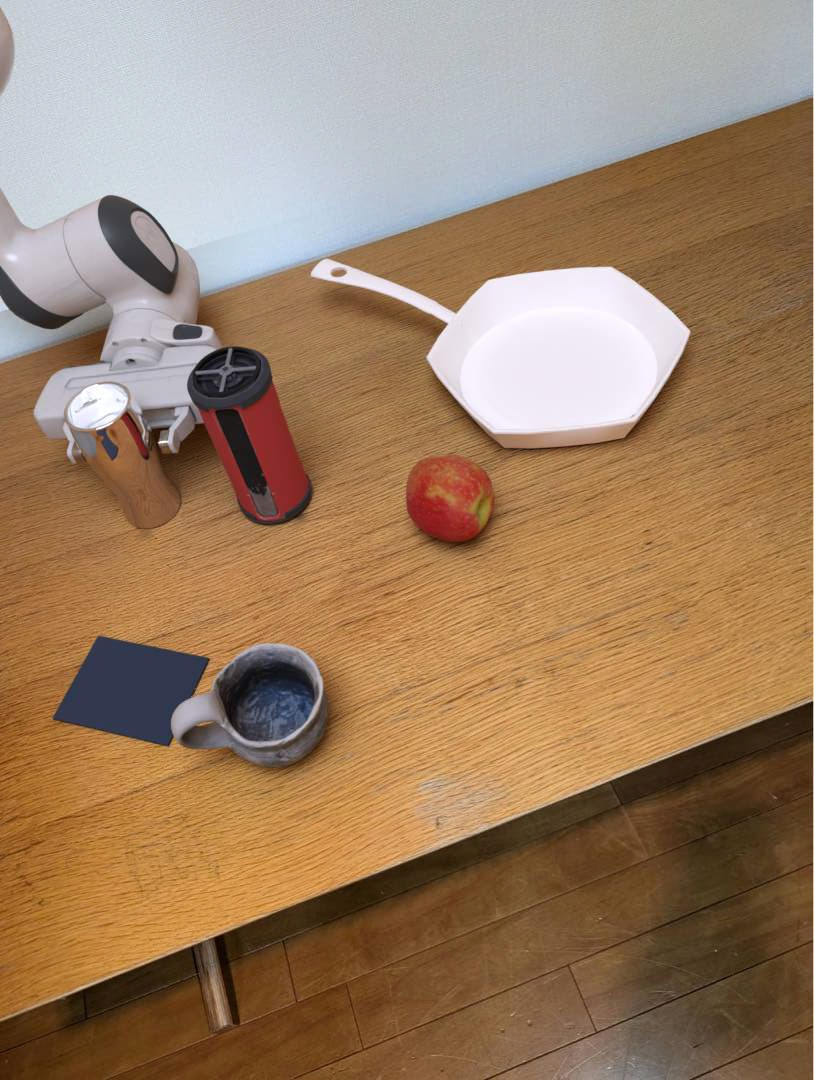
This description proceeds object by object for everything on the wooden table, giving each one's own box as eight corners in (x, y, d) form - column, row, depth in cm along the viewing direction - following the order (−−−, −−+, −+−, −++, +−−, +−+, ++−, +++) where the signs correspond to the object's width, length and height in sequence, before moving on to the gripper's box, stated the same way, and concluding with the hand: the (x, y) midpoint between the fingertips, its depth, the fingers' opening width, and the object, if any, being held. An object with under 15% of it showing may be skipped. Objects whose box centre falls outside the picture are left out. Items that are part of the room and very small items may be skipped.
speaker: (235, 529, 101) (176, 402, 87) (246, 472, 105) (191, 343, 91) (309, 524, 100) (261, 395, 86) (316, 467, 104) (272, 336, 90)
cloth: (53, 719, 90) (52, 718, 90) (99, 637, 95) (98, 635, 95) (168, 746, 87) (167, 745, 86) (209, 659, 92) (208, 657, 91)
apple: (468, 568, 93) (459, 515, 87) (395, 537, 97) (381, 484, 91) (509, 508, 97) (503, 453, 91) (437, 481, 100) (426, 426, 94)
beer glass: (132, 481, 107) (75, 380, 96) (192, 481, 106) (142, 378, 94) (113, 532, 103) (50, 432, 91) (175, 532, 102) (119, 431, 90)
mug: (362, 736, 84) (337, 677, 76) (239, 829, 81) (200, 778, 73) (301, 663, 90) (272, 601, 82) (184, 747, 86) (142, 691, 78)
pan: (610, 501, 95) (610, 454, 90) (262, 382, 114) (246, 338, 109) (717, 324, 108) (722, 274, 103) (388, 242, 126) (379, 197, 121)
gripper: (40, 347, 105) (7, 443, 96) (227, 325, 102) (210, 421, 94) (65, 391, 110) (36, 485, 101) (244, 370, 107) (230, 465, 99)
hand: (121, 454), depth 97 cm, fingers open, 8 cm apart
